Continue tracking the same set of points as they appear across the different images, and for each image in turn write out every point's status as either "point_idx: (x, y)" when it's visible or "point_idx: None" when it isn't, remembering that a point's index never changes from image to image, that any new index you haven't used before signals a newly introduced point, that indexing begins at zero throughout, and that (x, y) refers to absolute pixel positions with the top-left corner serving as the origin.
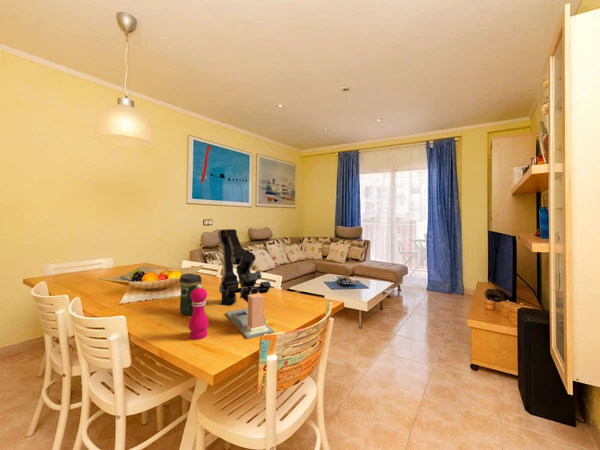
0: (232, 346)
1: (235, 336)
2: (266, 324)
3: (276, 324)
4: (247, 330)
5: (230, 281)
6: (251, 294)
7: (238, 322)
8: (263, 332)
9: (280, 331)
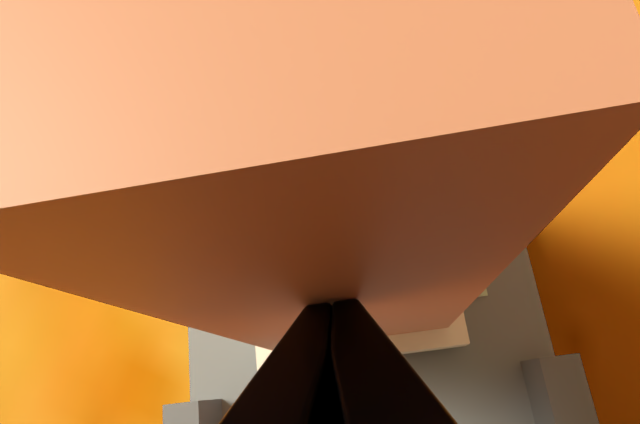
0: (636, 6)
1: (605, 200)
2: (193, 332)
3: (72, 366)
4: None
5: None
6: (406, 128)
7: (593, 421)
8: None
9: None
